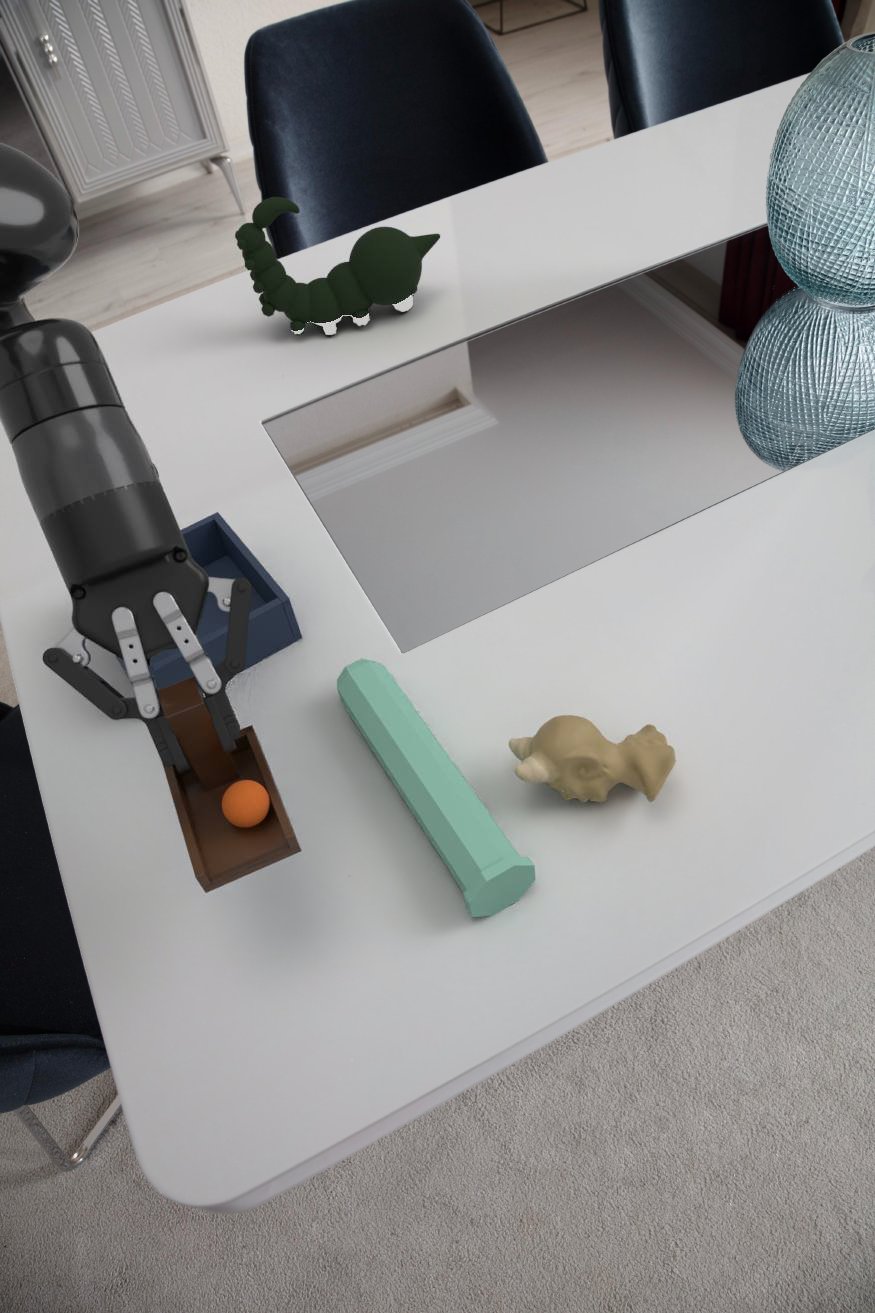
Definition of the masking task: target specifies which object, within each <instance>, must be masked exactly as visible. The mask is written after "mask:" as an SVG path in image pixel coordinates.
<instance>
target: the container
mask: <svg viewBox="0 0 875 1313" xmlns="http://www.w3.org/2000/svg"><path fill="white" fill-rule="evenodd" d="M336 689H337V690H336V691H337V693H338V695H339V699H340V702H341V704H342V705H343V707H344V708H345V710H346V712H347V713H348V715H349V716H350V719H352V721H353V722H354V724H355V726H356V728H357V729H358V730H359V733H360V734H361V735H362V737H363V738H364V740H365V741H366V743H367V744H368V746H369V747H370V749H371V751H372V752H373V754H374V756H375V757H376V758H377V760H378V761H379V763H380V765H381V766H382V767H383V770H384V771H385V773H386V774H387V776H389V778H390V780H391V782H392V783H393V785H394V787H395V788H396V790H397V791H398V793H399V794H400V796H401V798H402V799H403V800H404V802H405V803H406V805H407V806H408V808H409V810H410V811H411V813H412V815H413V816H414V817H415V819H416V821H417V823H418V824H419V825H420V827H421V829H422V830H423V832H424V833H425V835H426V836H427V838H428V839H429V841H430V842H431V844H432V845H433V847H434V849H435V850H436V852H437V853H438V855H439V856H440V858H441V859H442V861H443V862H444V865H445V866H446V867H447V869H448V871H449V872H450V874H451V876H453V878H454V880H455V882H456V883H457V884H458V887H459V888H460V889H461V891H462V893H463V894H462V895H463V899H464V903H465V907H466V908H465V909H466V910H467V912H468V914H469V915H470V916H471V917H472V918H480V917H492V916H495V915H496V914H498V913H500V912H501V911H503V910H504V909H506V908H509V907H510V906H511V905H513V904H515V903H516V902H519V900H520V899H521V898H522V897H523V896H524V895H525V893H526V892H527V891H528V890H529V888H530V887H531V886H532V885H533V884H534V883H535V882H536V868H535V867H536V866H535V864H534V862H533V861H532V860H531V858H530V857H529V856H528V855H527V856H525V855H523V856H521V855H520V854H519V853H518V851H517V850H516V848H515V846H514V845H513V844H512V842H511V840H509V838H508V837H507V835H506V834H505V832H504V831H503V830H502V828H501V827H500V826H499V824H498V822H496V820H495V818H494V817H493V816H492V814H491V813H490V812H489V811H488V809H487V807H486V806H485V805H484V803H483V802H482V800H481V799H480V798H479V796H478V795H477V793H476V792H475V791H474V789H473V787H472V786H471V785H470V784H469V782H468V781H467V779H466V778H465V777H464V775H463V774H462V772H461V771H460V769H459V768H458V766H457V765H456V764H455V763H454V761H453V759H452V758H451V757H450V756H449V754H448V753H447V750H445V748H444V747H443V746H442V744H441V743H440V741H439V740H438V739H437V737H436V735H434V732H432V730H431V729H430V728H429V726H428V724H427V723H426V722H425V720H424V719H423V717H422V716H421V715H420V713H419V711H417V708H416V707H415V706H414V705H413V703H412V702H411V701H410V698H408V696H407V695H406V694H405V692H404V691H403V690H402V688H401V687H400V685H399V684H398V683H397V681H396V680H395V678H394V677H393V676H392V674H391V673H390V671H389V670H388V669H387V667H386V666H385V664H382V663H381V662H378V661H375V660H371V659H367V658H362V657H361V658H359V659H357V660H355V661H353V662H351V663H349V664H347V665H345V666H344V667H343V669H342V671H341V672H340V674H339V676H338V677H337V679H336Z"/></svg>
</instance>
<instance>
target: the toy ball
mask: <svg viewBox="0 0 875 1313" xmlns="http://www.w3.org/2000/svg"><path fill="white" fill-rule="evenodd" d="M269 806H270V800H269V795H268V793H267V791H266V790H265V788H264V787H263V786H262V785H261V784H259V783H257V782H255V781H251V780H242V781H238V782H236V783H234V784H232V785H231V786H230V787H229V788H228V789H227V790H226V792H225V794H224V796H223V799H222V810H223V813H224V815H225V817H226V818H227V820H228V821H229V822H231V823H232V824H233V825H235V826H238V827H252V826H255V825H257V824H258V823H260V822H261V821H262V820H263V819H264V818H265V817H266V815H267V813H268V811H269Z"/></svg>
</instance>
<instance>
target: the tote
mask: <svg viewBox="0 0 875 1313" xmlns="http://www.w3.org/2000/svg"><path fill="white" fill-rule="evenodd" d="M180 530H181V533H182V535H183V538H184V540H185V543H186V545H187V548H188V550H189V552H190V555H191V557H192V559H193V560H194V561H195V562H196V563H197V564H198V565H199V566H200V567H201V568H203V569H204V570H205V572H206V573H207V575H208V577H215V578H225V579H237V578H245V579H247V580H248V581H249V582H250V583H251V600H250V611H249V623H248V634H247V646H246V657H245V667H244V669H243V670H242V671H241V672H240V673H242V672H243V671H245V670H248V669H249V668H251V667H252V666H254V665H256V664H258V663H260V662H261V661H263V660H265V659H267V658H269V657H271V656H272V655H275V654H276V653H278V652H280V651H282V650H284V649H285V648H287V647H288V646H290V645H292V644H294V643H296V642H298V641H299V640H302V639H303V636H302V633H301V629H300V627H299V626H300V625H299V623H298V621H297V617H296V613H295V611H294V607H293V605H292V602H291V599H290V597H289V596H288V594H286V592H285V591H284V590H283V589H282V587H281V586H280V585H279V584H278V582H277V581H276V580H275V579H274V577H272V575H271V574H270V573H269V572H268V571H267V569H266V568H265V567H264V565H263V564H262V563H261V562H260V560H258V558H257V557H256V556H255V555H254V553H253V552H252V551H251V550H250V549H249V547H248V546H247V545H246V544H245V543H244V541H242V539H241V538H240V537H239V535H238V534H237V533H236V532H235V531H234V529H233V528H232V527H231V526H230V525H229V523H228V522H227V521H226V520H225V518H223V516H222V515H221V514H220V513H219V511H217V512H215V513H212V514H210V515H209V516H206V517H205V518H202V519H200V520H198V521H196V522H194V523H192V524H190V525H188V526H186V527H184V528H182V529H180ZM228 623H229V612H224V611H222V610H221V609H220V608H219V607H218V604H217V598H216V596H215V595H214V594H213V593H211V592H208V594H207V598H206V602H205V606H204V610H203V614H202V618H201V621H200V625H199V629H198V632H197V636H198V638H199V639H200V641H201V643H202V645H203V646H204V648H205V650H206V652H207V654H208V656H209V657H210V659H211V661H212V663H213V664H214V666H215V667H216V666H217V665H218V664H219V663H220V662H221V661H223V660H224V659H225V658H226V646H227V635H228ZM115 658H116V659H117V661H118V663H119V664H120V666H121V667H122V669H123V671H124V673H125V674H126V676H127V678H129V676H128V673H127V669H126V666H125V662H124V660H122V659H120V658H119V657H117V656H115ZM151 661H152V664H153V668H154V672H155V678H156V682H157V685H158V689H159V690H160V689H163V688H165V687H168V686H170V685H173V684H175V683H178V682H180V681H183V680H186V679H188V678H191V677H193V676H194V677H195V679H196V681H197V683H198V685H199V687H200V689H201V691H202V693H203V690H202V688H201V685H200V683H199V682H198V680H197V678H196V676H195V675H194V673H193V671H192V669H191V668H190V666H189V664H188V663H187V662H186V660H185V658H184V657H183V655H182V653H181V651H180V650H179V648H176V649H169V650H163V651H162V652H160V653H159V654H157V655H156V656H155V657H153V658H151ZM203 694H204V693H203Z"/></svg>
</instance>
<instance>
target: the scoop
mask: <svg viewBox="0 0 875 1313" xmlns="http://www.w3.org/2000/svg"><path fill="white" fill-rule="evenodd" d="M157 693H158V696H159V699H160V702H161V706H162V709H163V712H164V715H165V718H166V720H167V722H168V724H169V726H170V727H171V729H172V731H173V733H174V734H175V735H176V737H177V739H178V741H179V743H180V744H181V746H182V748H183V750H184V752H185V753H186V755H187V757H188V759H189V760H190V763H191V767H190V769H188V770H185V771H183V772H180V773H179V772H178V770H177V768H176V766H175V765H172V766H170V767H167V766H166V765H165V764H164V763H163V762H162V761H161V764H162V768H163V771H164V774H165V777H166V782H167V785H168V789H169V792H170V795H171V798H172V802H173V804H174V805H173V806H174V808H175V812H176V816H177V819H178V822H179V825H180V829H181V834H182V836H183V840H184V843H185V846H186V850H187V853H188V854H187V855H188V856H189V860H190V863H191V867H192V870H193V873H194V877H195V879H196V881H197V882H198V884H199V885H200V887H201V888H202V890H203V892H204V893H205V894H207V893H210V892H211V891H215V890H216V889H218V888H221V887H224V886H226V885H228V884H231V883H232V882H235V881H237V880H239V879H241V878H244V877H246V876H248V875H251V874H253V873H255V872H257V871H259V870H262V869H265V868H266V867H269V866H271V865H273V864H275V863H278V862H280V861H283V860H285V859H287V858H290V857H292V856H294V855H296V854H298V853H301V852H302V848H301V846H300V843H299V840H298V837H297V835H296V832H295V830H294V827H293V825H292V822H291V819H290V817H289V814H288V812H287V809H286V806H285V804H284V801H283V799H282V796H281V793H280V791H279V789H278V786H277V783H276V781H275V778H274V774H273V772H272V770H271V768H270V765H269V762H268V760H267V757H266V755H265V752H264V750H263V747H262V744H261V742H260V739H259V737H258V735H257V732H256V731H255V728H254V726H253V725H249V726H246V727H244V728H240V738H239V739H236V740H234V742H235V745H236V750H234V751H232V752H229V753H227V754H226V753H225V751H224V749H223V747H222V744H221V742H220V740H219V737H218V735H217V732H216V730H215V728H214V725H213V723H212V721H211V716H210V714H209V712H208V709H207V707H206V704H205V702H204V698H205V695H204V693H202V691H201V689H200V687H199V685H198V683H197V681H196V679H195V677H194V676H193V677H191V678H188V679H186V680H183V681H180V682H178V683H175V684H173V685H170V686H168V687H165V688H163V689H160V690H158V691H157ZM242 780H251V781H255V782H257V783H259V784H261V785H262V786H263V787H264V788H265V790H266V791H267V793H268V795H269V800H270V806H269V811H268V813H267V815H266V817H265V818H264V819H263V820H262V821H261V822H260V823H258V824H257V825H255V826H252V827H238V826H235V825H233V824H232V823H231V822H229V821H228V820H227V818H226V817H225V815H224V813H223V810H222V799H223V796H224V794H225V792H226V790H227V789H228V788H229V787H230V786H231V785H232V784H234V783H236V782H238V781H242Z"/></svg>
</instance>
